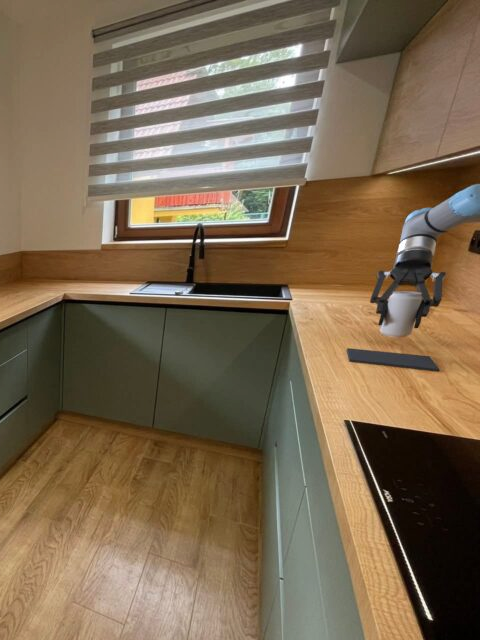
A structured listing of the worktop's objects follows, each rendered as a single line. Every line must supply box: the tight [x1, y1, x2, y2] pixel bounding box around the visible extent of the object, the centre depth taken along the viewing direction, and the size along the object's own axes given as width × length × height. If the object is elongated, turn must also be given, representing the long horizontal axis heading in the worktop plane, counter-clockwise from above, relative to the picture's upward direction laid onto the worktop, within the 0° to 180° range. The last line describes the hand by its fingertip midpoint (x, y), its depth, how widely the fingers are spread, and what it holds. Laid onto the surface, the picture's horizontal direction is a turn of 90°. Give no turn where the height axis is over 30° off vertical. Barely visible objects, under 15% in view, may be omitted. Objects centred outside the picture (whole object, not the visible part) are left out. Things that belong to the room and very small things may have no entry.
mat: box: [346, 347, 441, 372], centre depth 108 cm, size 16×12×1 cm
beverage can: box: [379, 290, 422, 338], centre depth 118 cm, size 6×6×12 cm
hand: (398, 323), depth 116 cm, fingers closed on beverage can, 6 cm apart
